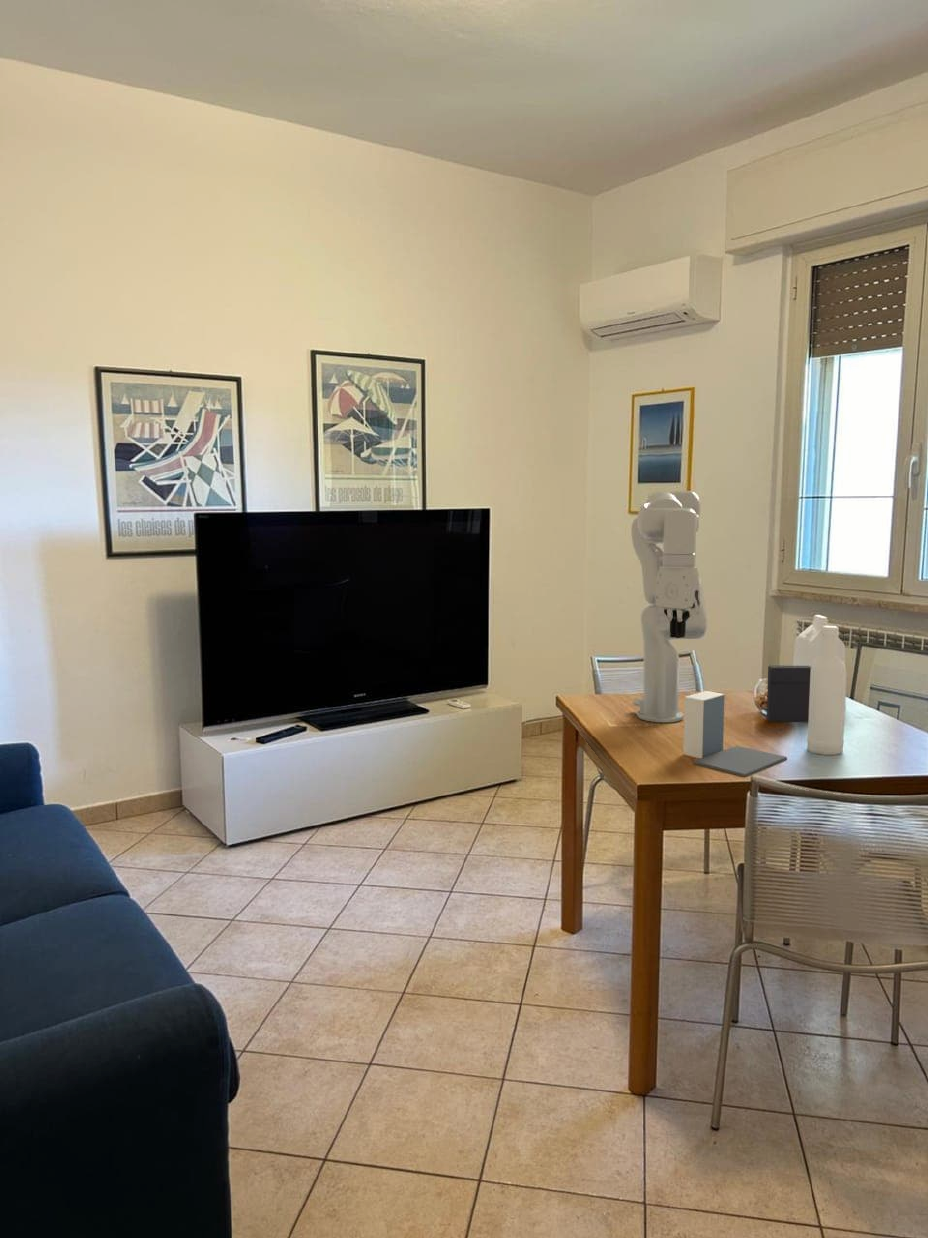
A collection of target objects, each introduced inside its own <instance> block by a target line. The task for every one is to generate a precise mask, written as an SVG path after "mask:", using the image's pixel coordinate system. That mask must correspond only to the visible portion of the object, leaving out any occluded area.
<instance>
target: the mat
mask: <svg viewBox="0 0 928 1238" xmlns="http://www.w3.org/2000/svg"><path fill="white" fill-rule="evenodd" d="M787 758H788V757H787V756H783V755H779V754H775V753H771V752H766V751H762V750H757V749H753V748H749V747H744V746H739V745H734V746H731V747H728V748H726V749H723V751H720V752H717V753H714V754H712V755H709V756H706V757H703V758H701V759H700V758H697V759H695V760H693V764H694V765H697V766H703V767H704V768H705V767H706V768H710V769H714V770H717V771H721V772H725V773H730V774H732V775H736V776H740V777H748V776H749V775H752V774H755V773H757V772H759V771H761V770H764V769H766V768H770V767H772V766H775V765H776V764H779V763H782V762H784V761H786V760H787Z"/></svg>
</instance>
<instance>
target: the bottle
mask: <svg viewBox="0 0 928 1238" xmlns="http://www.w3.org/2000/svg"><path fill="white" fill-rule="evenodd" d="M821 635H822V639H821V656H820V657H818V658H817V659H816V660H815V661H814V662H813V665H812V667H811V673H810V697H809V721H808V722H807V724H808V726H807V727H808V728H807V738H806V741H807V742H806V743H807V745H806V747H807V748H806V749H807V751H809V752H811V753H814V754H817V755H822V756H838V755H841V754H842V753H843V751H844V749H843V748H844V732H845V731H844V729H845V728H844V726H845V710H846V709H845V696H846V688H847V687H846V685H847V668H846V664H845V665H844V663H843V662H842V661H841V660H840V659H839V658H838V657H837V655H838V638H839V636H840V628H839V627H838V626H836V625H828V626H823V627H822V631H821Z"/></svg>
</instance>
